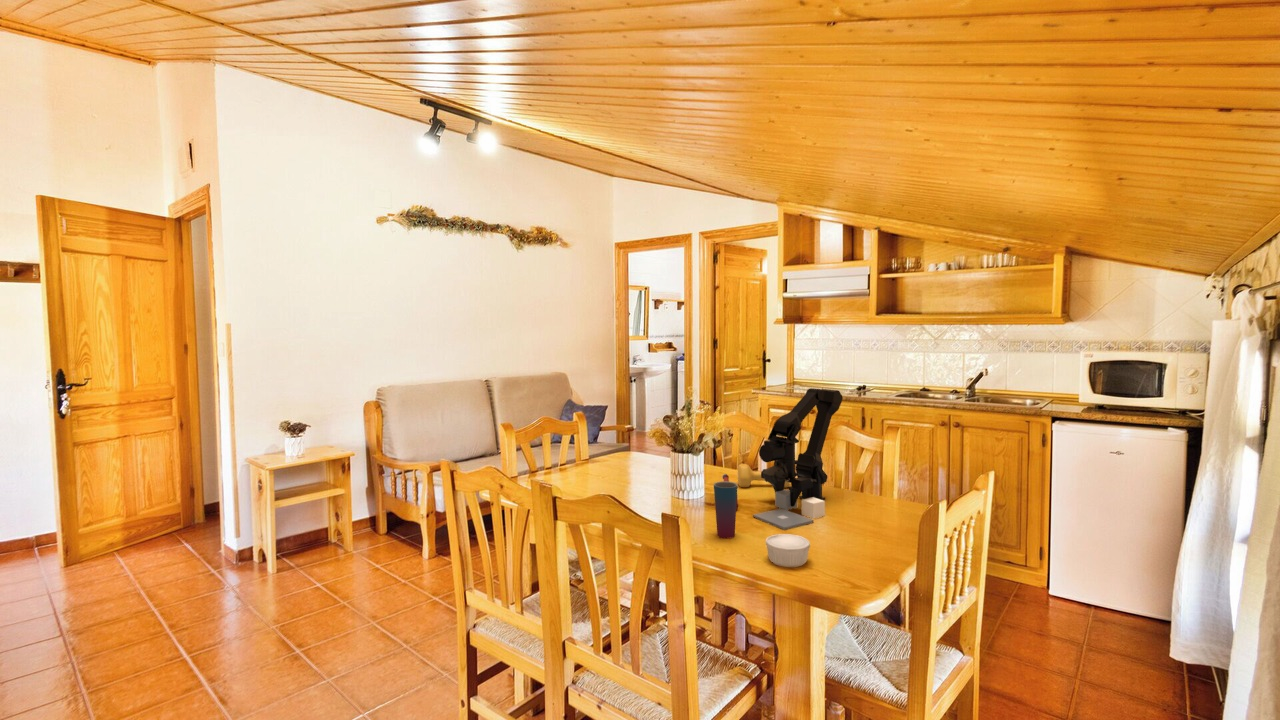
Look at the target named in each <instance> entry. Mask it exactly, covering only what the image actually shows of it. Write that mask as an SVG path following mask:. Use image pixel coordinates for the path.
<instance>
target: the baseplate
mask: <svg viewBox="0 0 1280 720" xmlns="http://www.w3.org/2000/svg"><path fill="white" fill-rule="evenodd" d="M753 517H755V518H754V519H756V518H757V519H756V520H758V519H759V520H758V521H761V520H762V521H761V522H763V521H764V522H763V523H765V524H768V523H769V524H768V525H770V526H773V527H775V526H776V528H778V529H780V530H783V531H786V530H791V529H794V528H798V527H802V526H805V525H806V524H807V525H810V523H811V524H813V523H814V521H815V519H812V518H809V517H806V516H803V515H802V514H799V513H795V512H793V511H790V510H785V509H782V508H777V509H773V510H768V511H764V512H760V513H755V514H754V513H753V514H752V518H753ZM807 525H806V526H807Z"/></svg>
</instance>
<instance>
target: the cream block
mask: <svg viewBox="0 0 1280 720" xmlns="http://www.w3.org/2000/svg"><path fill="white" fill-rule="evenodd" d="M803 515H805V516H804V517H806V516H808V517H807V518H809V517H811V518H810V519H812V518H813V519H812V520H815V519H814V518H816V519H819V518H818V517H820V518H823V517H822V516H824V517H826V500H825V499H823V500H820V499H817V498H814V497H811V498H807V499H802V498H801V516H803Z"/></svg>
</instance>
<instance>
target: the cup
mask: <svg viewBox="0 0 1280 720" xmlns="http://www.w3.org/2000/svg"><path fill="white" fill-rule="evenodd" d="M738 485H739V484H738V483H736V482H734V481H729V482H728V481H724V480H722V481H717V482H714V483H713V492H714V493H713V494H714V508H715V521H716V535H717V537H719V538H722V539H732V538H735V535H736V521H737V520H736V519H737V510H736V504H737V500H738Z"/></svg>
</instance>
